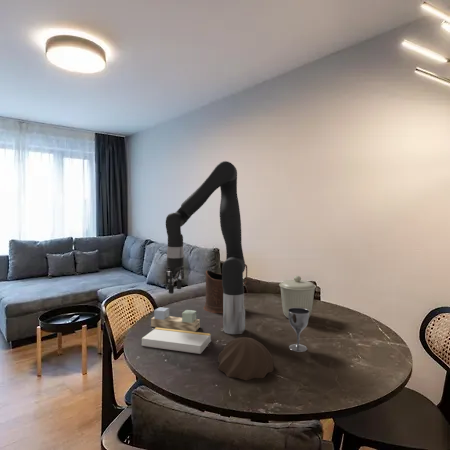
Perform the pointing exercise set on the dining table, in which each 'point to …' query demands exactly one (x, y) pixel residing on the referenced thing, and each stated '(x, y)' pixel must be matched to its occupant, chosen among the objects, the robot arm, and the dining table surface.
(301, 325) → the wine glass
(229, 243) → the robot arm
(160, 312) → the block
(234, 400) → the dining table surface
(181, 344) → the dock
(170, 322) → the pallet
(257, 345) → the decorative dome
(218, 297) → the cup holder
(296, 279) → the canister
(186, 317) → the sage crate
